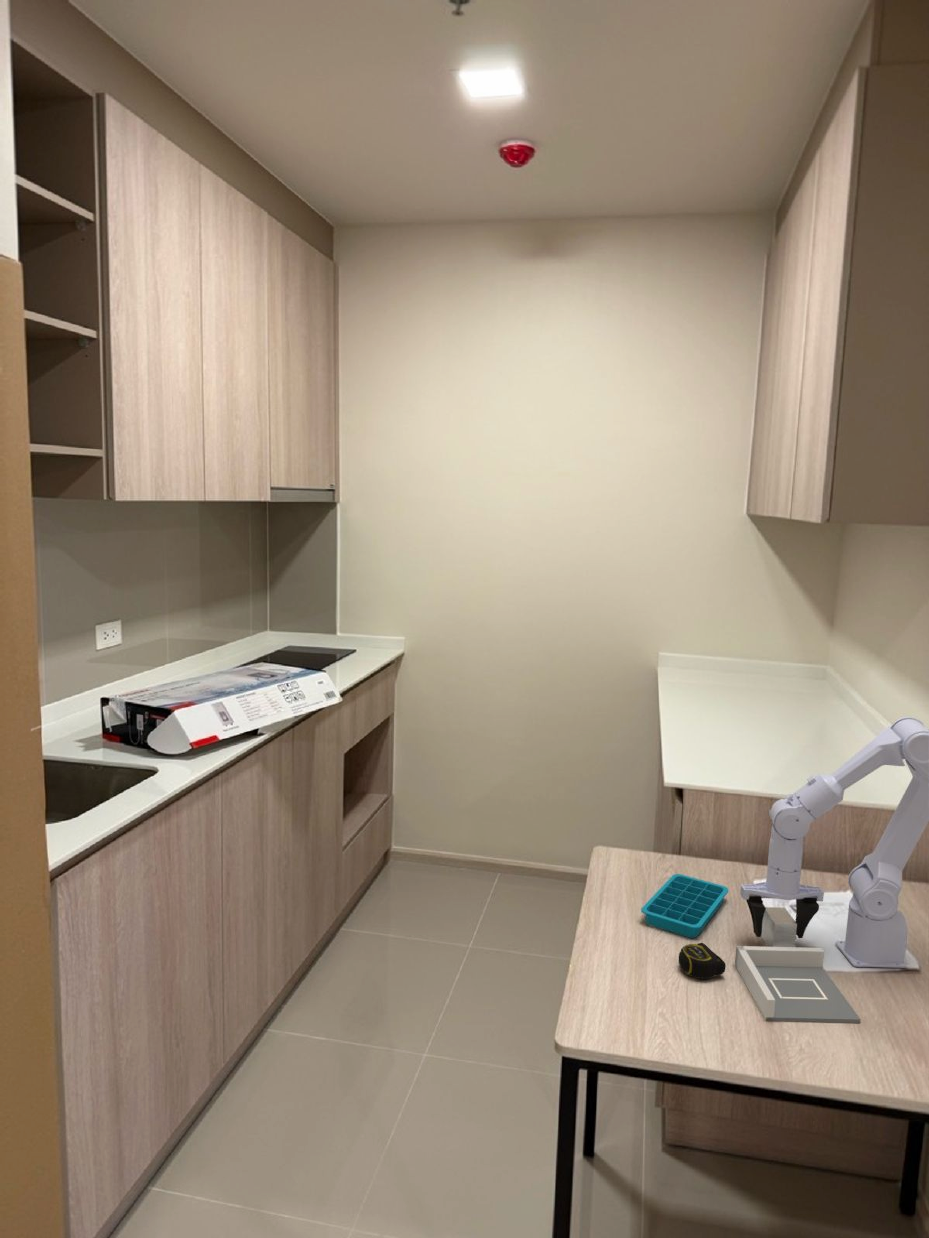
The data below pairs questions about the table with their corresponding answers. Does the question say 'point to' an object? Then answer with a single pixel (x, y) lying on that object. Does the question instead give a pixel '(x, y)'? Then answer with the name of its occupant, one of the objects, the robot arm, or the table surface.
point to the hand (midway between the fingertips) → (777, 934)
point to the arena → (792, 985)
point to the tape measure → (700, 961)
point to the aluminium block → (778, 928)
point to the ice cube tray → (684, 905)
